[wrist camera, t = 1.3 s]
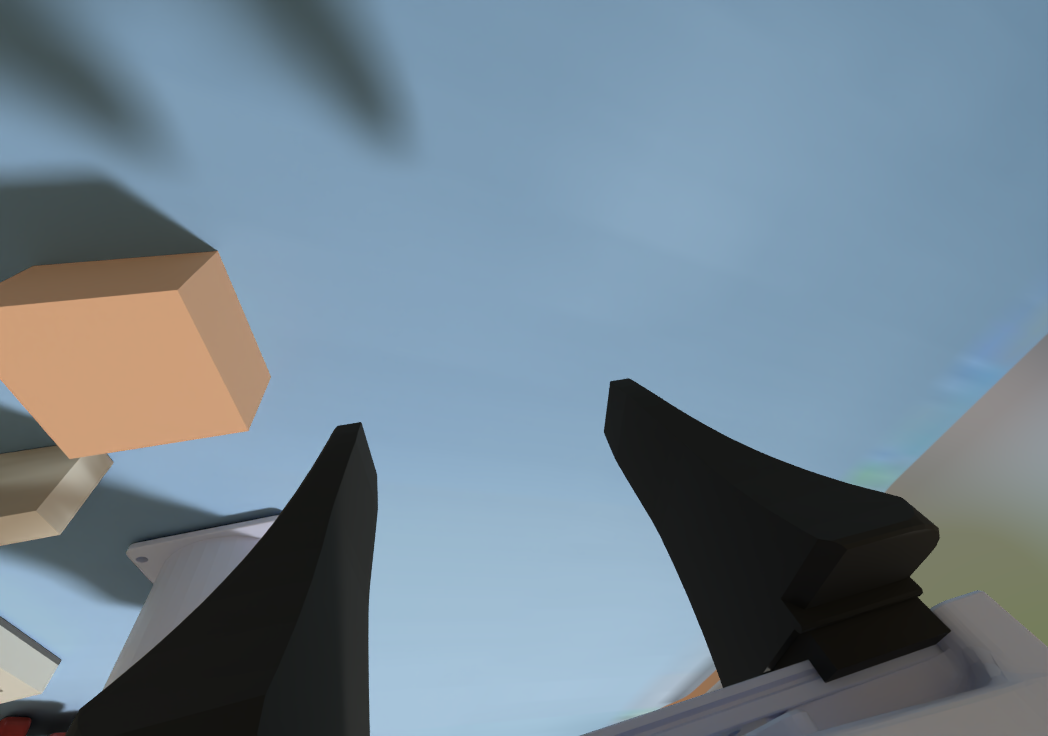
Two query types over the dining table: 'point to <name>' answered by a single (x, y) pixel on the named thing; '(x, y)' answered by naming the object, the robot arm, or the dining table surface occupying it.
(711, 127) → the dining table surface
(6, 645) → the trap basin
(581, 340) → the dining table surface
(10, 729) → the toy fire truck
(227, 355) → the terracotta block
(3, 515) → the channel walls
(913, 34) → the dining table surface
